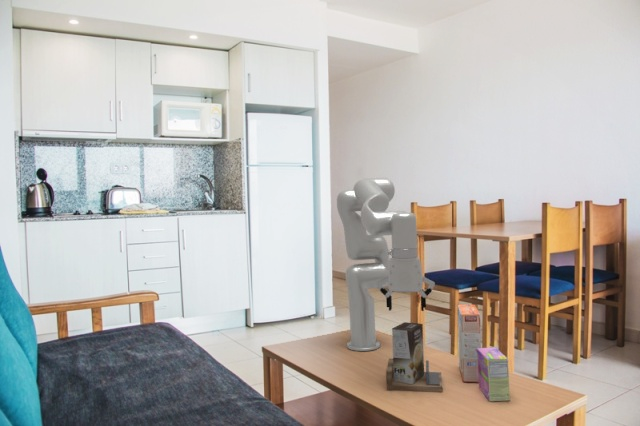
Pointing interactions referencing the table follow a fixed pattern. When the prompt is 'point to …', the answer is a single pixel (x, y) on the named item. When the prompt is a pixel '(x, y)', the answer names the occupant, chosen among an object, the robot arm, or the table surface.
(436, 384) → the bookend
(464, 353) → the cracker box
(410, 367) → the coffee box
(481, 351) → the box
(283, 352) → the table surface
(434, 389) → the shelf
